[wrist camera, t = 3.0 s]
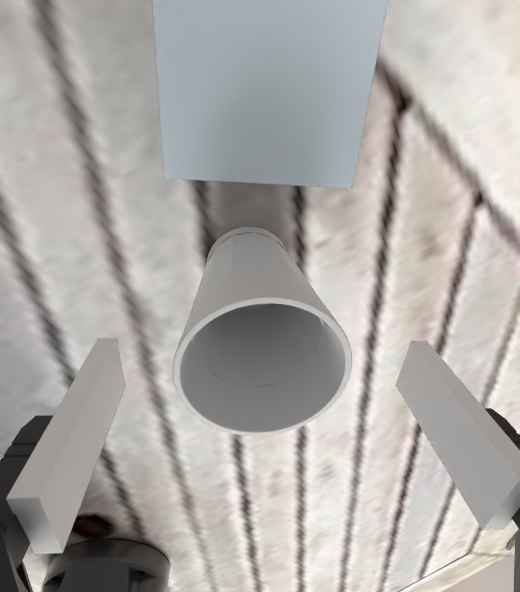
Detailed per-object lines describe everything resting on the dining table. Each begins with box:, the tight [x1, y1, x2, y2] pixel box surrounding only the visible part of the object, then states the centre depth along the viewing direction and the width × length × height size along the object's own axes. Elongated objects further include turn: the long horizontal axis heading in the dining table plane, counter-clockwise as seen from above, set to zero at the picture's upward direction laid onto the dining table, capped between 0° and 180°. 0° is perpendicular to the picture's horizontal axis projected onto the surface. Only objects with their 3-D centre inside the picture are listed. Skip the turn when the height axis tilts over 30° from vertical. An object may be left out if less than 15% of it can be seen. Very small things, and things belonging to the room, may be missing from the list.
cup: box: [173, 227, 352, 436], centre depth 20 cm, size 8×8×12 cm
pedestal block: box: [152, 0, 388, 188], centre depth 17 cm, size 10×10×5 cm
